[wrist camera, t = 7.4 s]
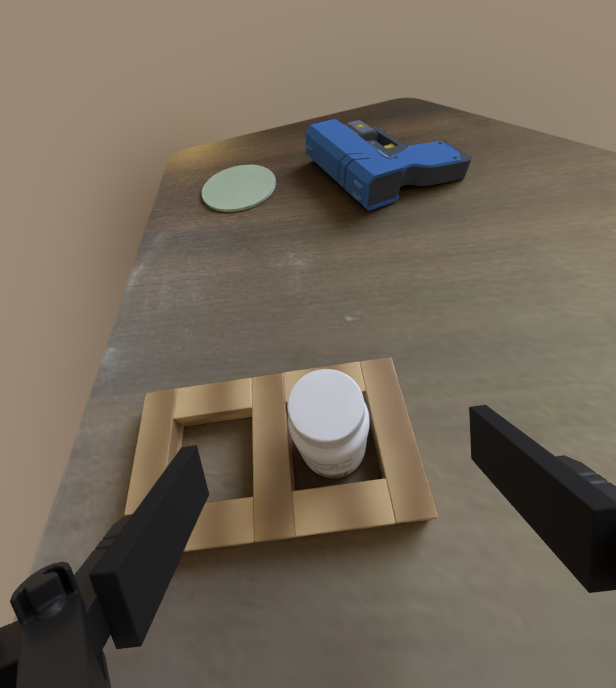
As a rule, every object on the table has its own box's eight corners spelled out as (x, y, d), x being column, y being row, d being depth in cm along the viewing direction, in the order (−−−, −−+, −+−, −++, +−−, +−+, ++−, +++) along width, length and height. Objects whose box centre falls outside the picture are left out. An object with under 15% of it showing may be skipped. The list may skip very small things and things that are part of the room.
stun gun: (399, 102, 44) (302, 125, 40) (482, 147, 36) (370, 182, 32) (393, 135, 47) (303, 160, 44) (467, 184, 39) (365, 219, 36)
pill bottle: (327, 401, 25) (319, 346, 18) (378, 439, 23) (392, 394, 16) (287, 450, 23) (261, 410, 16) (338, 495, 21) (334, 472, 14)
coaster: (199, 217, 40) (198, 215, 39) (205, 174, 45) (204, 171, 45) (278, 204, 39) (277, 202, 39) (274, 162, 45) (273, 159, 44)
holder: (134, 559, 21) (115, 560, 19) (158, 402, 27) (145, 392, 25) (430, 519, 20) (438, 517, 18) (388, 368, 26) (391, 356, 24)
